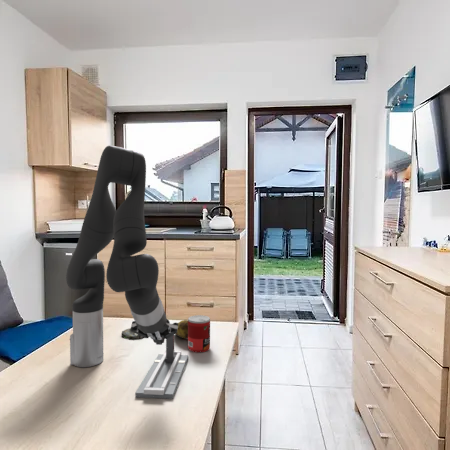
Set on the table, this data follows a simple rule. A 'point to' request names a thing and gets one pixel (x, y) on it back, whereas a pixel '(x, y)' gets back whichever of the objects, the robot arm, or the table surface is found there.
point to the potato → (182, 329)
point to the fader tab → (170, 350)
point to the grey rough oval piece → (131, 335)
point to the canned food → (199, 333)
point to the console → (163, 377)
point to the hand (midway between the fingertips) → (159, 341)
